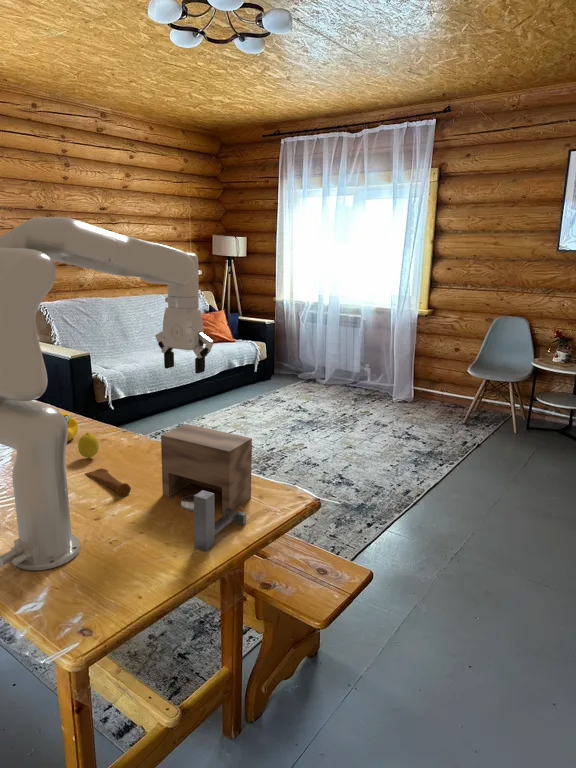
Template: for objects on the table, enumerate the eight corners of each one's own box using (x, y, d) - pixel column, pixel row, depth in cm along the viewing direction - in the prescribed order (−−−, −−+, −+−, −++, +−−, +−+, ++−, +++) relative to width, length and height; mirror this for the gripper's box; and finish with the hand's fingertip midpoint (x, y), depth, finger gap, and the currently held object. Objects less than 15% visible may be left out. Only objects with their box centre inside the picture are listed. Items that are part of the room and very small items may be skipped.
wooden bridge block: (229, 514, 126) (229, 451, 121) (162, 494, 134) (160, 435, 130) (251, 497, 134) (251, 438, 130) (187, 480, 143) (186, 423, 139)
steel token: (196, 514, 126) (196, 508, 125) (176, 508, 128) (175, 502, 128) (210, 504, 131) (210, 498, 130) (191, 498, 133) (191, 492, 133)
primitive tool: (84, 475, 145) (83, 463, 144) (103, 470, 149) (102, 458, 148) (118, 500, 132) (118, 487, 131) (138, 493, 136) (138, 481, 135)
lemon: (101, 460, 154) (100, 434, 152) (81, 463, 151) (79, 437, 149) (96, 453, 158) (94, 428, 156) (77, 457, 155) (75, 431, 153)
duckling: (59, 449, 161) (56, 417, 158) (44, 446, 162) (41, 415, 160) (83, 436, 172) (81, 407, 169) (69, 434, 173) (66, 405, 170)
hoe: (210, 553, 110) (210, 500, 107) (190, 546, 112) (189, 494, 109) (246, 523, 122) (246, 475, 119) (227, 517, 124) (227, 470, 121)
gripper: (146, 301, 133) (148, 368, 137) (203, 307, 125) (203, 377, 130) (165, 299, 139) (166, 363, 143) (220, 304, 132) (220, 371, 136)
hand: (184, 370), depth 137 cm, fingers open, 9 cm apart
